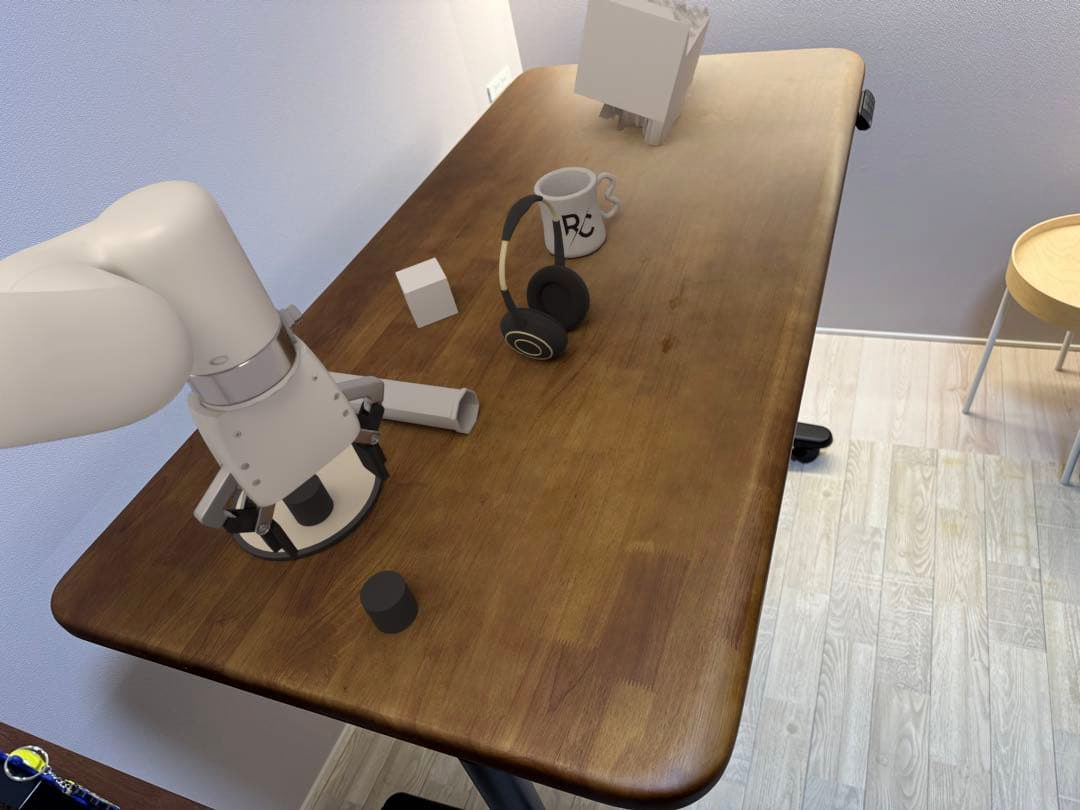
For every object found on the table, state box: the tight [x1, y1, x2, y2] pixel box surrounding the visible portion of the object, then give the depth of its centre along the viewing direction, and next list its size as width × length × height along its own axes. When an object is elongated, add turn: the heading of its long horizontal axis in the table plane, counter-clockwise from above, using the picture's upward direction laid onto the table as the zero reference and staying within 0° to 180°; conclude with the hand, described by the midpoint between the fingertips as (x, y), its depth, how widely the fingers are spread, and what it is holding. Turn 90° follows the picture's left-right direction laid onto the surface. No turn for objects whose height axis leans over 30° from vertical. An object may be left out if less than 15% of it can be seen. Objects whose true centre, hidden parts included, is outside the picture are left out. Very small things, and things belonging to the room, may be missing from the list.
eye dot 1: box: [282, 474, 334, 526], centre depth 85 cm, size 4×4×4 cm
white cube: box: [395, 257, 459, 329], centre depth 109 cm, size 6×6×6 cm
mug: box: [533, 166, 621, 259], centre depth 112 cm, size 12×9×10 cm
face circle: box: [229, 444, 384, 562], centre depth 89 cm, size 18×18×1 cm
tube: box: [328, 371, 481, 435], centre depth 95 cm, size 5×5×25 cm
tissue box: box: [573, 0, 712, 147], centre depth 129 cm, size 20×16×25 cm
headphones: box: [498, 193, 591, 360], centre depth 93 cm, size 9×15×20 cm, turn 154°
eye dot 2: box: [359, 570, 419, 635], centre depth 74 cm, size 4×4×4 cm
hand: (333, 509), depth 66 cm, fingers open, 9 cm apart
